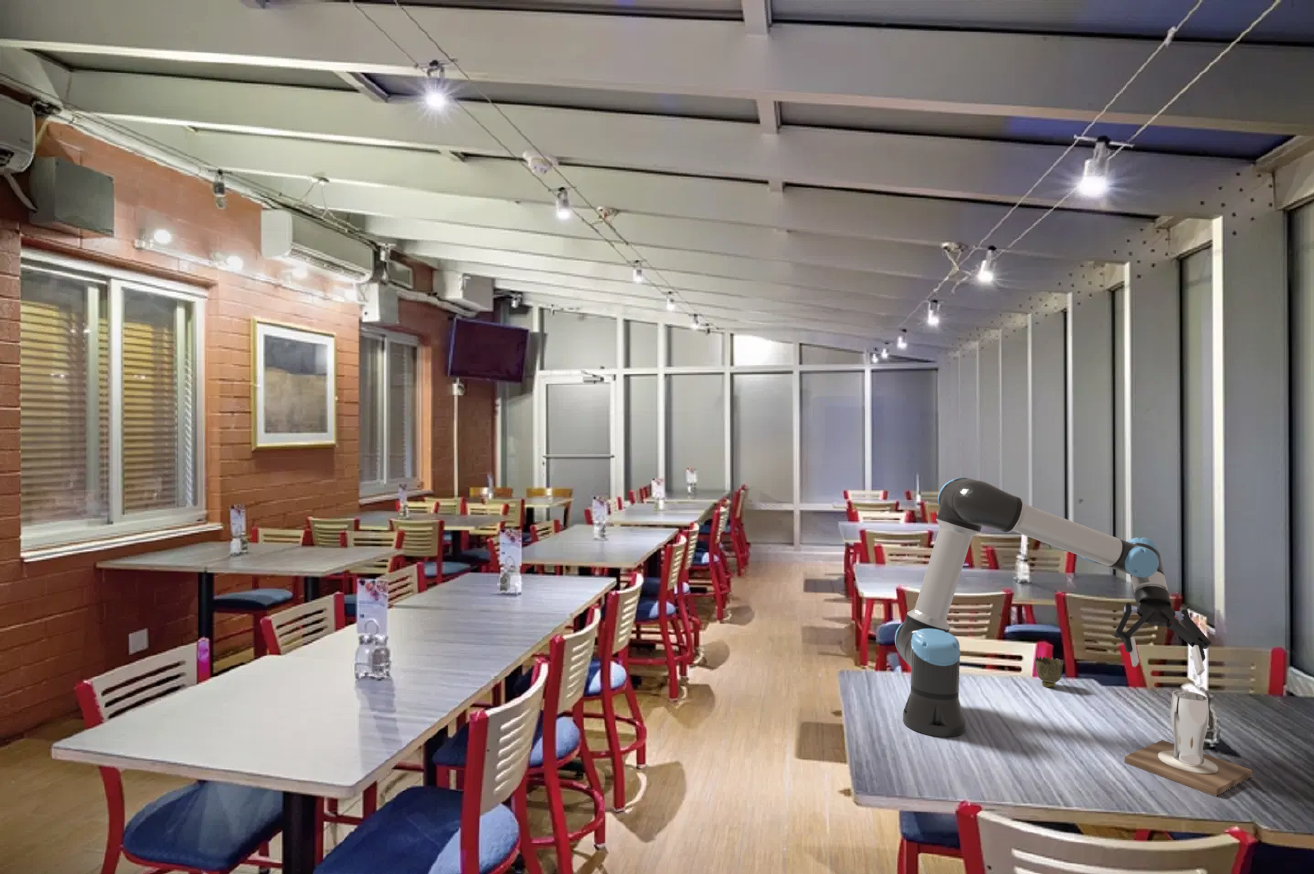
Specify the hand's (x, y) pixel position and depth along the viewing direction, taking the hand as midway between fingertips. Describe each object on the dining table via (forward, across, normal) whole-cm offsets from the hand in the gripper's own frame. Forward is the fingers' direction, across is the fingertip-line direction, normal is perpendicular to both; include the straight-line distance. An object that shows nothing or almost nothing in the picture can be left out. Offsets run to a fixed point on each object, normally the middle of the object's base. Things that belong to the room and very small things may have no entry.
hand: (1167, 668), depth 176 cm
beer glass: (+21, -1, -4) cm, 21 cm away
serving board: (+22, -1, -5) cm, 23 cm away
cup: (-12, +17, -43) cm, 48 cm away
